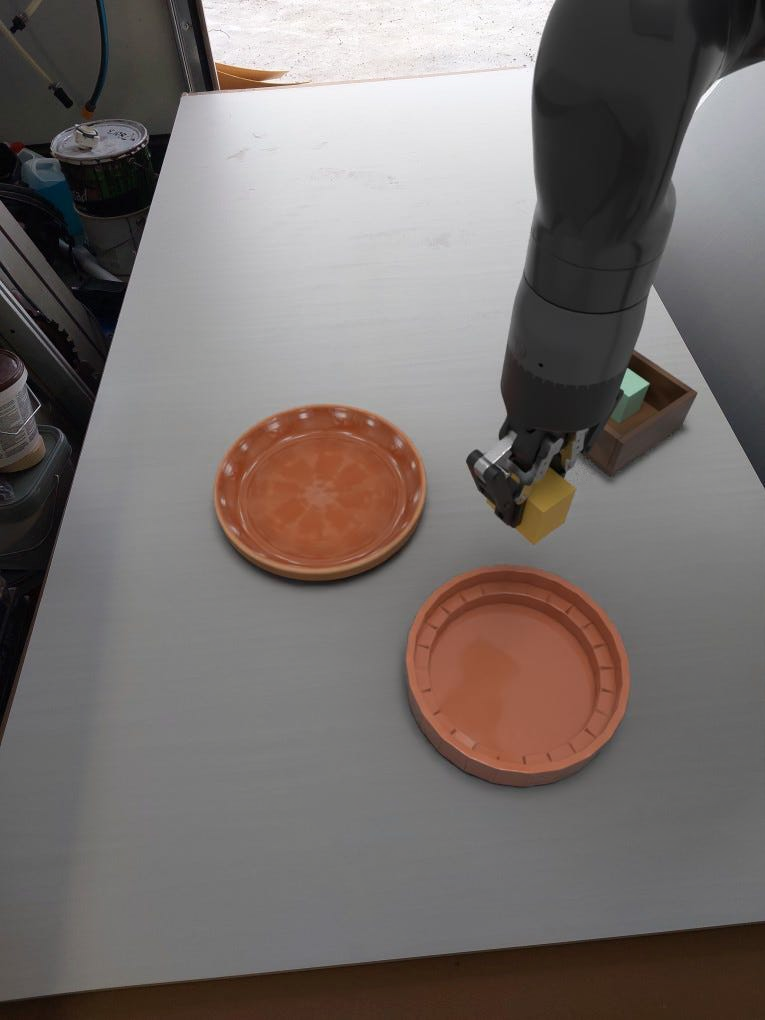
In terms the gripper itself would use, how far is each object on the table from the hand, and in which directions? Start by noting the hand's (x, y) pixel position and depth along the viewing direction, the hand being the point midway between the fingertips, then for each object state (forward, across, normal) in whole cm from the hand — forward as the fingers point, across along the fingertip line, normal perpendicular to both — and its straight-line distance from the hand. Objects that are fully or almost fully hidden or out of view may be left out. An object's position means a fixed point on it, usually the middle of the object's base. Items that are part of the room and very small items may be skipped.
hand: (527, 505), depth 56 cm
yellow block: (+1, 0, 0) cm, 1 cm away
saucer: (+16, -7, +22) cm, 28 cm away
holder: (+16, +27, +11) cm, 33 cm away
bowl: (+16, -5, -6) cm, 18 cm away
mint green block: (+16, +29, +11) cm, 35 cm away
